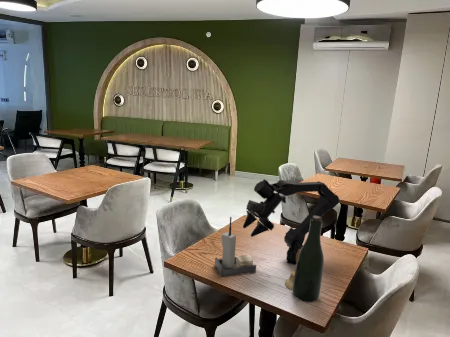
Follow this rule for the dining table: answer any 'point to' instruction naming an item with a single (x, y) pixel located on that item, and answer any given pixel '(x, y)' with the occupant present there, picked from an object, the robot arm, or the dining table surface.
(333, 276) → the dining table surface
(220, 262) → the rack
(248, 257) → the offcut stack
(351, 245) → the dining table surface
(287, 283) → the hand bell
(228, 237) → the vintage mobile phone
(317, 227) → the beer bottle
